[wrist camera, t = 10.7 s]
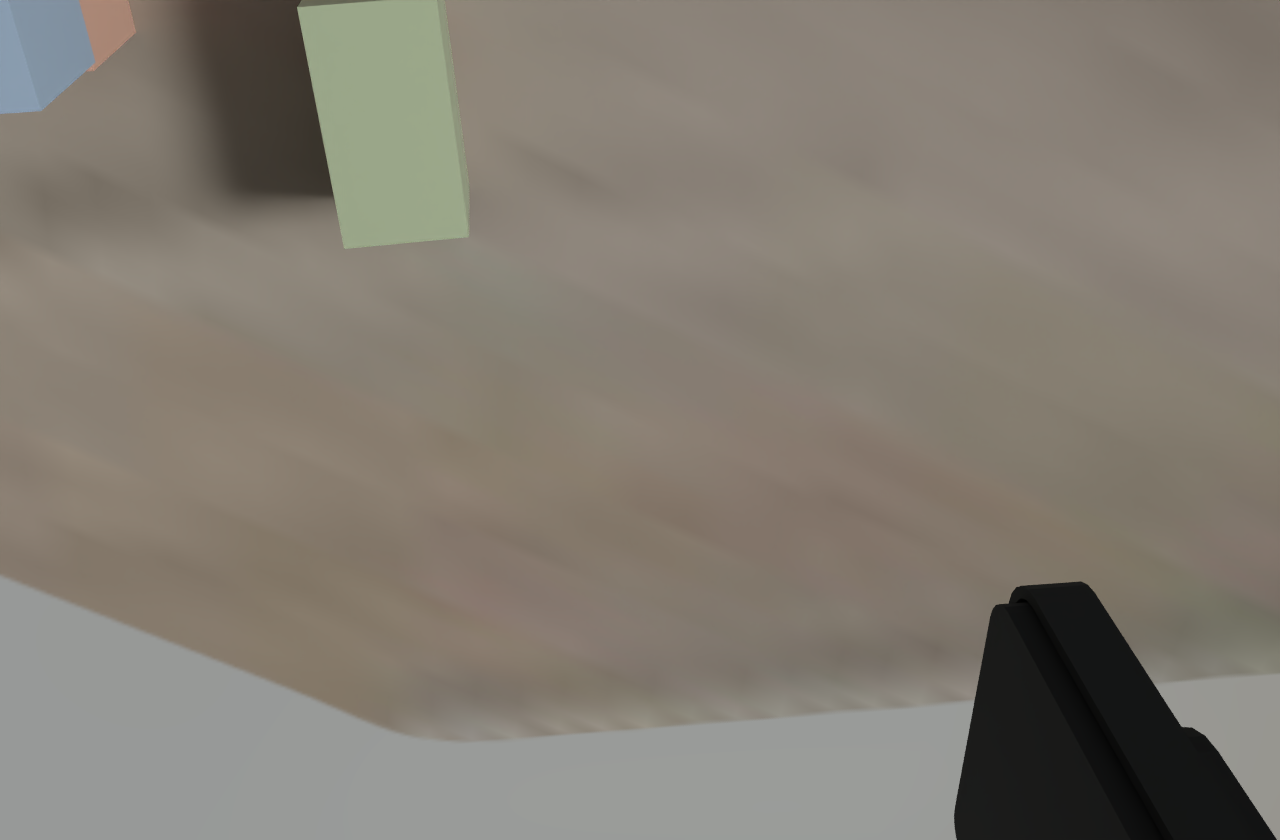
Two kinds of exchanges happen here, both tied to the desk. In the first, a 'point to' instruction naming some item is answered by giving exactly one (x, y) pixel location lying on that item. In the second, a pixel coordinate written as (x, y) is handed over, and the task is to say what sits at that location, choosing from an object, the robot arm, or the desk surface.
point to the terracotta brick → (107, 26)
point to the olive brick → (388, 118)
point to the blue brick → (40, 52)
